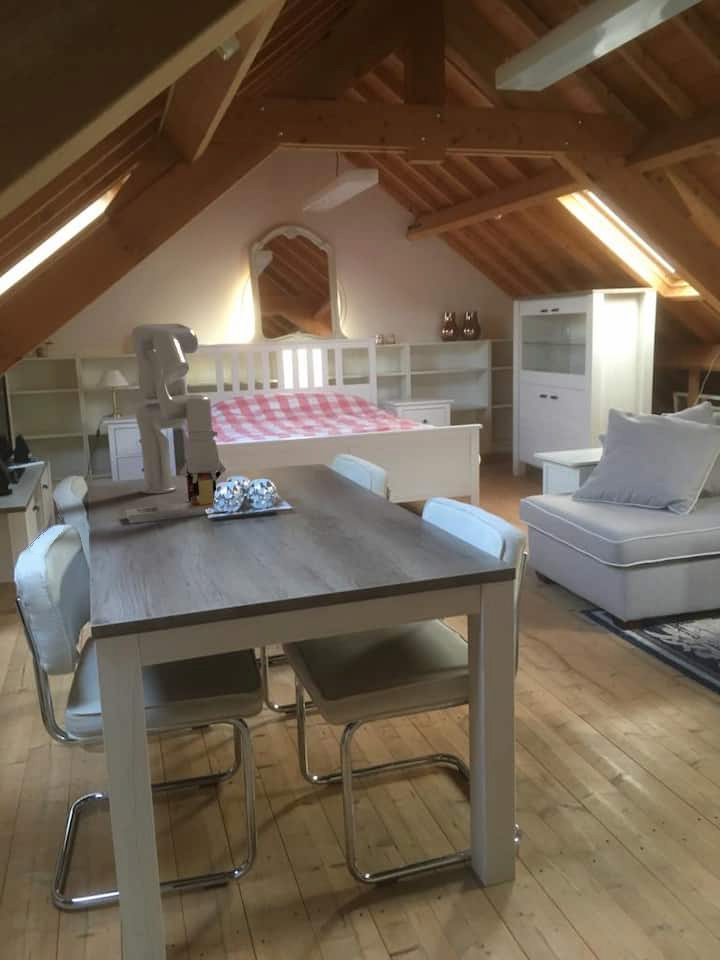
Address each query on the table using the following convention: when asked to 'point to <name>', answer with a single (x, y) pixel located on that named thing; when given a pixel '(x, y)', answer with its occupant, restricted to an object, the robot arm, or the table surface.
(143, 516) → the grey board
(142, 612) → the table surface
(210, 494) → the yellow rectangular block
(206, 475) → the supplement box
